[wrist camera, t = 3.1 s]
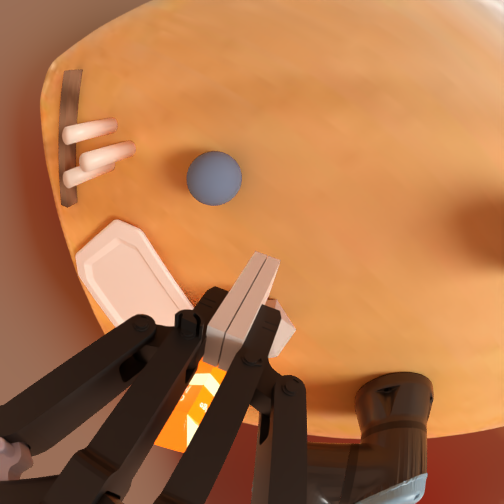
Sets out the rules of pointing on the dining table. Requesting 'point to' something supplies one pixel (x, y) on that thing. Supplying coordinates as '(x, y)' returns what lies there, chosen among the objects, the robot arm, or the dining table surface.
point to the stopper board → (66, 119)
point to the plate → (129, 276)
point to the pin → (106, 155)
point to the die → (280, 330)
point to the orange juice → (191, 408)
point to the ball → (214, 178)
